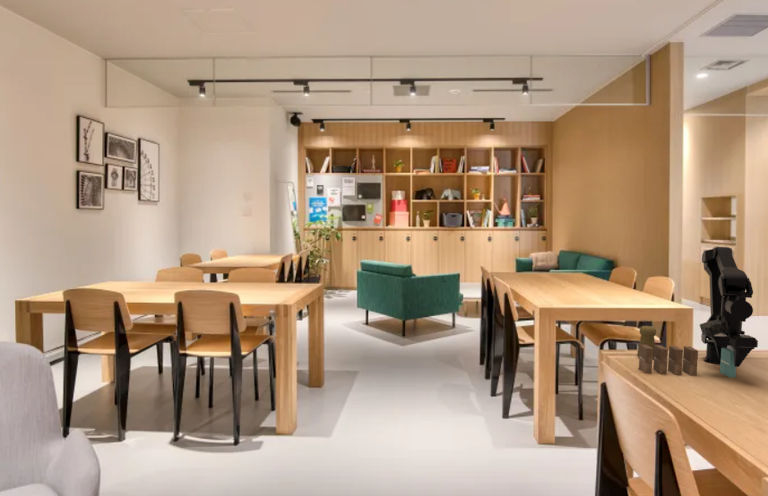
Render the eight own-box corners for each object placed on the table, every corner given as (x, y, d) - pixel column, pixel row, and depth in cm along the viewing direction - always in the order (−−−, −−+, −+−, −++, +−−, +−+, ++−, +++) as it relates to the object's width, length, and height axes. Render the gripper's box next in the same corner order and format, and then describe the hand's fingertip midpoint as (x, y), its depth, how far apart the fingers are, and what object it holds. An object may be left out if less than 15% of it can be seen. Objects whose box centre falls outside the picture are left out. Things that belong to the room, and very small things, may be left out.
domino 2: (659, 369, 169) (661, 345, 169) (666, 374, 164) (668, 349, 164) (653, 369, 170) (654, 345, 169) (659, 374, 165) (661, 349, 164)
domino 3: (674, 370, 169) (675, 345, 168) (681, 375, 164) (683, 350, 163) (667, 369, 169) (669, 345, 169) (674, 374, 164) (676, 349, 164)
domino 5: (726, 372, 167) (728, 348, 167) (735, 377, 163) (737, 352, 162) (719, 372, 168) (721, 347, 167) (728, 377, 163) (730, 352, 162)
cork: (645, 360, 180) (646, 328, 179) (632, 355, 186) (634, 324, 185) (660, 359, 181) (661, 328, 180) (647, 354, 187) (649, 324, 186)
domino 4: (689, 370, 169) (690, 346, 168) (696, 375, 164) (698, 350, 163) (682, 370, 169) (683, 346, 168) (689, 375, 164) (691, 350, 163)
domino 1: (645, 368, 170) (646, 344, 169) (651, 373, 165) (653, 348, 164) (638, 368, 170) (639, 344, 169) (644, 373, 165) (646, 348, 164)
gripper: (690, 306, 174) (687, 353, 175) (720, 318, 155) (717, 370, 156) (725, 308, 173) (722, 354, 174) (760, 320, 154) (756, 371, 155)
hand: (728, 362), depth 165 cm, fingers open, 9 cm apart
